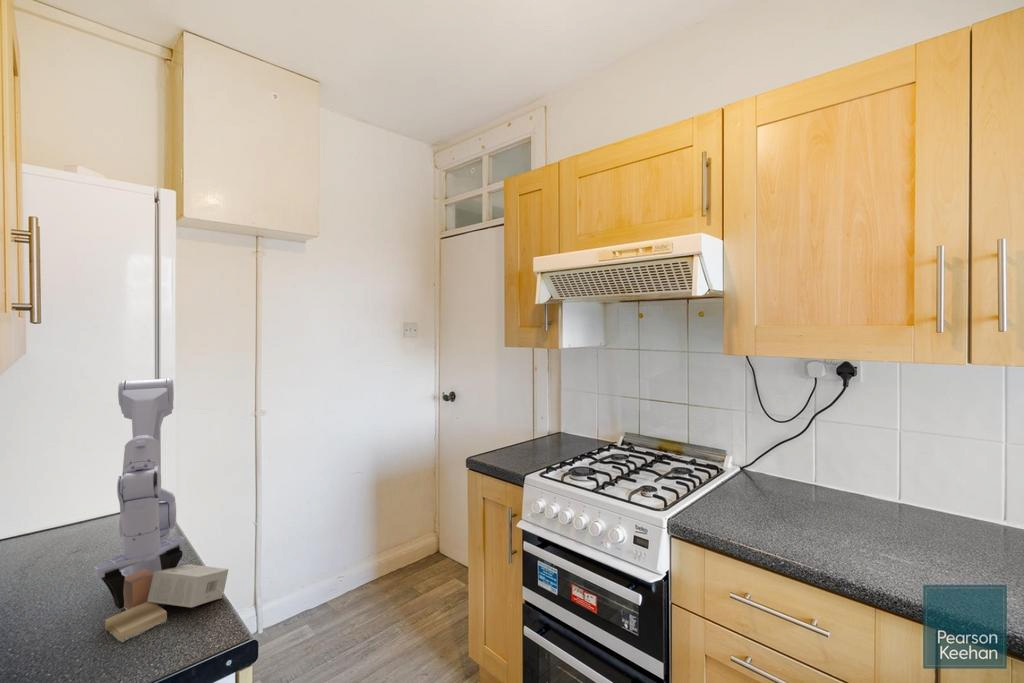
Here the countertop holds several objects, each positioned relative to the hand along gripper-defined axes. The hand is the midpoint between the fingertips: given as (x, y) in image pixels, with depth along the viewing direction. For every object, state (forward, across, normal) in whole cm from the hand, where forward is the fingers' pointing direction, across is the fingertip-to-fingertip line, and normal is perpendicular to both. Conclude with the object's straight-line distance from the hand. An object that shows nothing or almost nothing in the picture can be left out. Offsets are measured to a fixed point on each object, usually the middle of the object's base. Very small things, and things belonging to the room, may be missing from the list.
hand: (143, 596), depth 93 cm
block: (+2, 0, +1) cm, 2 cm away
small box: (-2, +7, -12) cm, 14 cm away
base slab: (+2, -4, -7) cm, 8 cm away
